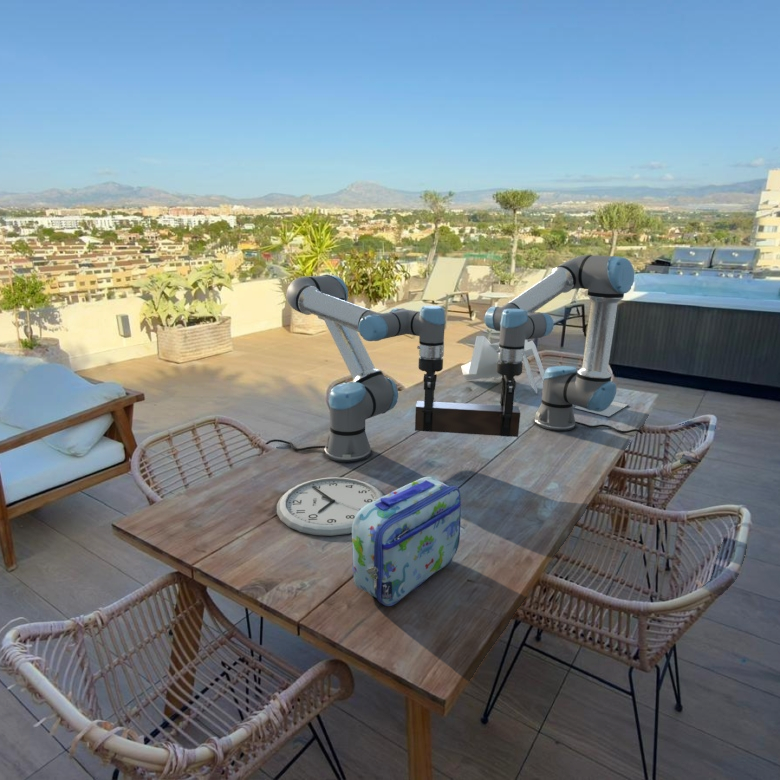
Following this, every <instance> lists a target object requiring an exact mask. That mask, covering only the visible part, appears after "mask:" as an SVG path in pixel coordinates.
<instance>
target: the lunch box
mask: <svg viewBox="0 0 780 780" xmlns="http://www.w3.org/2000/svg"><path fill="white" fill-rule="evenodd" d="M461 499H462V497H461V491H460V489H459V488H458V487H457V486H455V485H450V486H449V485H447V484H445V483H444V482H442V481H440V480H438V479H436V478H434V477H432V476H424V477H421V478H419V479H416V480H414V481H412V482H410V483H407V484H405V485H404V486H401V487H399V488H397V489H395V490H392V491H391V492H390V493H386V494H384V496H383V497H381V498H379V499H377V500H375V501H373V502H371V503H369V504H367V505H365V506H364V507H362V508H361V509H360V510H359V512H358V513H357V515H356V516H355V518H354V521H353V526H352V533H351V550H352V576H353V581H354V584H355V587H356V588H358V589H360V590H362V591H364V592H366V593H368V594H370V596H372V597H374V598H375V599H377V601H378V603H379V604H382V605H383V606H385V607H393V606H394V605H396V604H397V603H399V602H400V601H402V599H404V598H405V597H406V596H407V595H409V594H410V593H411V592H413V591H414V590H415V589H416V588H418V587H419V586H420V585H422V584H423V583H424V582H425V581H427V580H428V579H429V578H430V577H432V575H434V574H435V573H437V572H439V571H441V570H442V569H443V568H445V567H446V566H448V565H449V564H450V562H452V560H453V559H454V557H455V555H456V553H457V551H458V549H459V544H460V537H461V519H462V515H461V513H462V512H461V510H462V507H461V505H462V504H461V503H462V502H461Z"/></svg>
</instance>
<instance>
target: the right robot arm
mask: <svg viewBox="0 0 780 780" xmlns="http://www.w3.org/2000/svg"><path fill="white" fill-rule="evenodd" d="M634 281H635V270H634V266H633V264H632V262H631V261H630V260H629V259H628V258H627V257H621V256H616V255H595V254H594V255H593V254H584V255H583V254H582V255H579V256H576V257H573V258H571V259H569V260H566V261H564V262H563V263H561V264H559V265H558V266H556V267H554V268H553V269H552V270H551V272H550V274H549V275H548V276H546V277H545V278H543V279H542V280H540V281H538V282H537V283H535V284H534V285H532V286H531V287H530V288H528V289H527V290H525V291H523V292H521V294H519V295H517V296H516V297H515V298H513V299H512V300H510V301H508V302H507V303H505V304H504V305H503V306H491V307H489V308H487V310H486V312H485V314H484V323H485V326H486V327H487V328H488V329H490V330H493V331H496V332H499V341H498V342H499V349H498V350H496V352H497V353H498V359H499V361H498V362H497V372H498V373H499V374H501V375H502V376H501V378H500V379H501V380H500V381H501V386H500V400H499V405H503V415H500V417H502V422H501V434H500V436H499V437H509V438H510V437H511V436H510V425H511V417H512V416H513V415H512V413H513V406H514V400H515V391H516V390H515V389H516V383H517V381H516V379H515V377H516V376H517V377H518V376H521V375H522V374H523V366H524V362H523V358H524V345H525V340H533V339H542V338H543V337H547V336H549V335H550V334H552V332H553V331H554V320H553V317H552V316H551V315H550V314H549V313H547V312H540V311H539V312H537V311H538V310H539V309H540V308H542V307H544V306H545V305H547V304H548V303H549V302H551V301H552V300H554V299H556V298H557V297H558V296H560V295H562V293H565V294H566V293H569V292H571V291H572V290H576V289H583V290H587V298H588V299H589V300H590V306H589V315H588V321H587V322H588V323H587V329H586V337H585V344H584V352H583V358H582V366H581V367H580V368H579V369H578V368H577V367H576V366H571V365H570V366H569V365H557V366H556V365H555V366H550V367H547V368H546V369H545V370H544V372H545V375H544V378H543V379H544V382H543V381H542V394H541V402H540V405H539V407H538V410H537V411H536V413H535V416H534V424H535V425H536V426H537V427H539V428H542V429H544V430H549V431H556V432H567V431H572V430H574V429H575V428H576V425H579V426H582V427H586V428H590V429H591V428H592V429H595V428H600V427H601V428H608V429H611V430H613V431H615V432H616V433H620V434H630V433H633V432H637V433H639V434H641V435H642V434H644V432H643V431H642V430H640V429H639V428H632V429H628V430H620V429H617V428H615V427H614V426H611V425H608V424H603V423H601V424H596V425H595V424H594V425H591V424H586V423H583V422H581V421H580V422H579V421H576V418H575V417H576V416H575V413H574V407H573V406H575V407H576V406H580V407H583V408H586V409H588V410H593V411H597V412H601V411H604V410H605V409H607V408H608V407H609V406H610V404H611V403H612V401H614V400H615V398H616V394H617V386H616V385H617V384H616V383H615V382H614V381H612V373H611V372H610V371H609V363H610V358H611V350H612V344H613V337H614V331H615V325H616V318H617V310H618V304H619V302H620V301H622V300H623V299H624V297H625V294H627V293H629V292H630V291H631V289H632V287H633V286H634V283H635V282H634Z"/></svg>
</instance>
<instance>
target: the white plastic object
mask: <svg viewBox="0 0 780 780" xmlns="http://www.w3.org/2000/svg"><path fill="white" fill-rule="evenodd" d="M498 349H499V341H498V342H493V343H491V341H489V339H488V338H487V337H486V336H485V335H476V336H475V341H474V347H473V350H472V355H471V360H470V361H469V362H467V363H465V364H463V365H461V366H460V367H461V372H462V376H463V377H464V378H465V380H466V381H473V380H482V379H483V380H484V379H490V378H491V379H494V380H495V379H498V378H502V375H501V374H499V373H498V372H497V362H498V361H499V359H498V353H497V352H496V350H498ZM531 356H534V359H535V363H536V365H537V369H538V370H539V374H540V377H541V380H542V383H543V382H544V379H543V378H544V375H545V369H544V366H543V364H542V361H541V357H540V353H539V352H538V348H537V346H536V344H535V342H534V341H533V339H531V340H529V339H527V340H525V345H524V358H523V361H522V363H523V366H524V369H525V371H526V374H527V377H528V381H529V384H530V387H531V388H532V390H533V392H534V393H535V394H538V388H537V385H536V382H535V378H534V375H533V372H532V369H531V366H530V362H529V360H528V357H531Z"/></svg>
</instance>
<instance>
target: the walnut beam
mask: <svg viewBox="0 0 780 780" xmlns="http://www.w3.org/2000/svg"><path fill="white" fill-rule="evenodd" d="M422 410H424V400H417V401H416V404H415V414H414V415H415V417H414V431H415V432H424V431H423V423H424V412H422ZM432 410H433V417H432V432H431V433H445V434H446V433H449V434H461V435H462V434H463V435H464V434H465V435H479V436H480V435H481V436H497V437H501V436H500V434H501V422H502V417H500V415H503V405H501V404H482V403H467V402H446V401H445V402H444V401H436V402H433V405H432ZM520 411H521V410H520V408H519V406H517V405H513V413H512V415H513V416H512V417H511V425H510V436H509V437H514V438H515V437H516V438H518V437H519V429H520V421H521V412H520Z"/></svg>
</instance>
